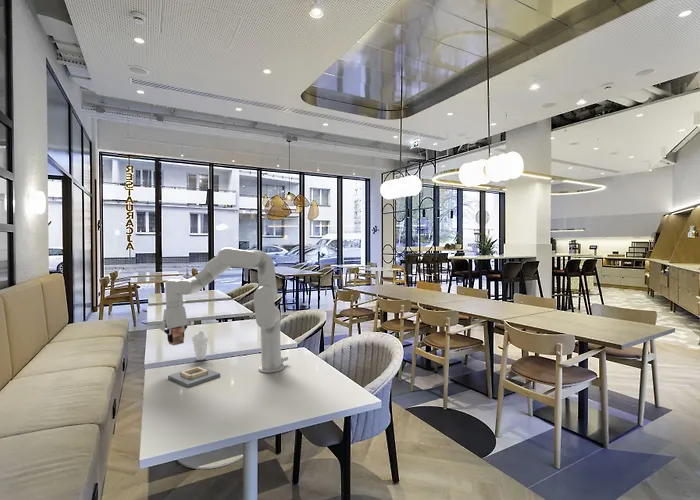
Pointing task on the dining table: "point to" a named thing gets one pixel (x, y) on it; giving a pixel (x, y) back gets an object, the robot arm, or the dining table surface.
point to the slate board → (193, 376)
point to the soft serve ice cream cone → (200, 344)
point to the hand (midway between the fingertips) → (176, 340)
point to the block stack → (177, 336)
